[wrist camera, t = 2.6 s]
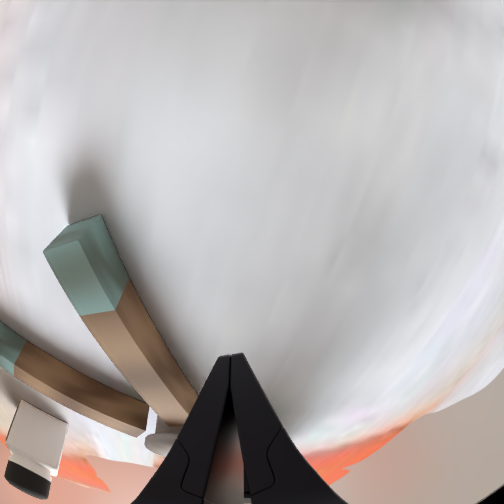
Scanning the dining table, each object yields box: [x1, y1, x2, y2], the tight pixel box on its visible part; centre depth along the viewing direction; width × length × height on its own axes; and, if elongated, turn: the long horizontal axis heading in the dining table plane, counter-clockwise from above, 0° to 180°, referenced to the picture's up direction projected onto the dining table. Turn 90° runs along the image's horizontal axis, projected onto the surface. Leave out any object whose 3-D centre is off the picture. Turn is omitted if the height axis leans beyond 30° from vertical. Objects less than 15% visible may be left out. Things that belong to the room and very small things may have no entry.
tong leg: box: [43, 215, 198, 427], centre depth 16 cm, size 16×2×3 cm, turn 12°
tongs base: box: [0, 322, 182, 457], centre depth 19 cm, size 22×6×4 cm, turn 52°
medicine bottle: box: [5, 400, 69, 499], centre depth 21 cm, size 7×7×12 cm
